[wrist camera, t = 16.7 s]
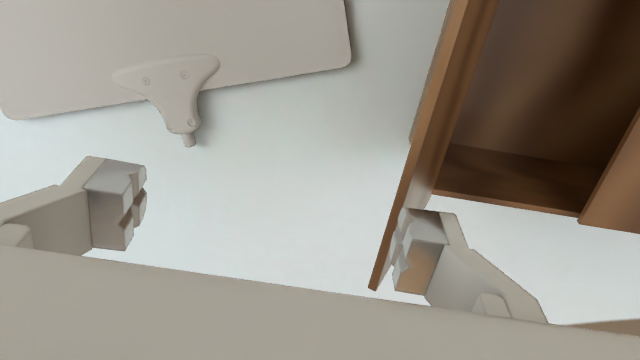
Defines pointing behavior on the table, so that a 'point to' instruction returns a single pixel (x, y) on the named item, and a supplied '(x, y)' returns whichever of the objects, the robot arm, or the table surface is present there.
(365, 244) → the table surface
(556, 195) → the carton
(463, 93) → the flap
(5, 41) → the grey board with tab
